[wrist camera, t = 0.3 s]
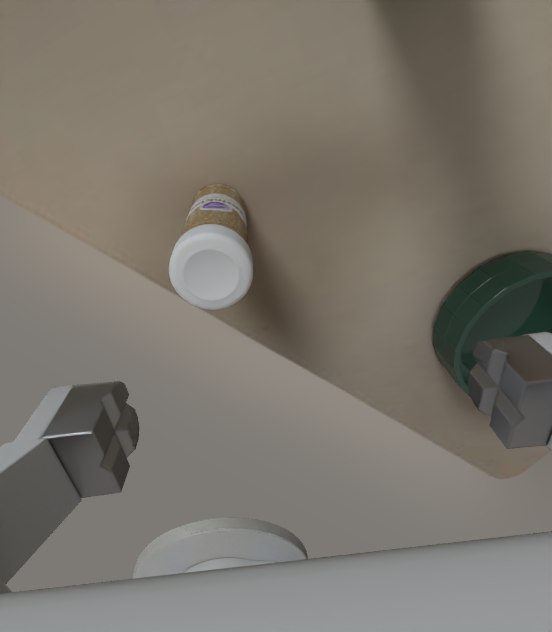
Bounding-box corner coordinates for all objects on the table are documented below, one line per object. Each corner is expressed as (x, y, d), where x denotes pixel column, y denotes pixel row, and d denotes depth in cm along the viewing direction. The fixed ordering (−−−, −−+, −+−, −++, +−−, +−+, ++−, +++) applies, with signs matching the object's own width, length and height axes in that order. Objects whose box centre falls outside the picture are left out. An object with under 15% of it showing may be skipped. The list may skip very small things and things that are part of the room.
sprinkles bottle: (238, 177, 31) (243, 225, 19) (251, 231, 33) (261, 303, 22) (183, 189, 31) (154, 245, 19) (199, 242, 33) (183, 320, 22)
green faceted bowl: (578, 338, 43) (617, 365, 39) (450, 394, 45) (473, 425, 41) (565, 221, 36) (611, 238, 31) (413, 295, 38) (436, 320, 34)
